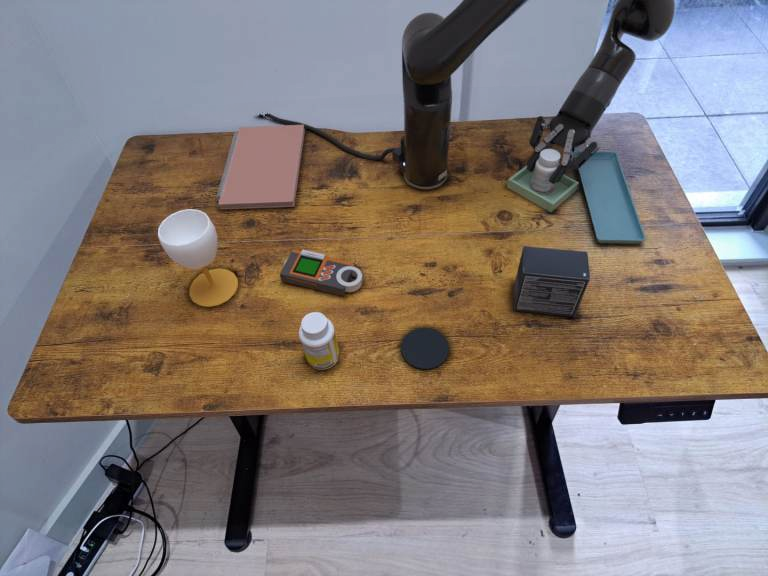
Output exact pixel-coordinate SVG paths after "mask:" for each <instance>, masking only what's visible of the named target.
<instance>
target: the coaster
mask: <svg viewBox="0 0 768 576" xmlns="http://www.w3.org/2000/svg"><path fill="white" fill-rule="evenodd" d="M400 353H401V355H402V358H403V359H404V361H405V362H406V363H407V364H408V365H409V366H411V367H413V368H415V369H417V370H420V371H431V370H434V369H437V368H439V367H441V366H442V365H443V364H444V363H445V362H446V361H447V359H448V357H449V354H450V343H449V341H448V339H447V337H446V336H445V335H444V334H443V333H442V332H440V331H439V330H437V329H435V328H432V327H425V326H423V327H418V328H414V329H412V330H410V331H408V333H407V334H405V336H404V337H403V339H402V340H401V344H400Z"/></svg>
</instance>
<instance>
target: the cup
mask: <svg viewBox="0 0 768 576" xmlns="http://www.w3.org/2000/svg"><path fill="white" fill-rule="evenodd" d="M157 238H158V240H159V243H160V245H161V247H162V249H163V251H164V253H166V254H167V256H168V257H169V258H170V259H171V260H172V261H173V262H175V263H176V264H178V265H179V266H181V267H183V268H185V269H187V270H198V269H201V270H202V273H200V274H199V275H197V277H195V278H194V279H193V281H192V282H191V285H190V286H189V297H190V299H191V301H192V302H193V303H194V304H196V305H198V306H199V307H205V308H211V307H217V306H220V305H223V304H224V303H226V302H229V300H230V299H231V298H232V297H234V295H236V292H237V290H238V288H239V279H238V278H237V276H236V274H235V273H234V272H233V271H231V270H229V269H227V268H220V267H219V268H212V269H208V267H207V266H209V265H210V264H211V263H212V262H213V261H214V260H215V258H216V256H217V253H218V248H219V247H218V246H219V245H218V243H219V241H218V233H217V230H216V227H215V225H214V223H213V222H212V221H211V219H210V218H209V216H208V214H207V213H206V212H204V211H201V210H199V209H194V208H193V209H192V208H188V209H181V210H178V211H176V212H174V213H172V214H169V215H168V216H167V217H166V218H164V219H163V220H162V222H161V223H160V225H159V226H158V229H157Z"/></svg>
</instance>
